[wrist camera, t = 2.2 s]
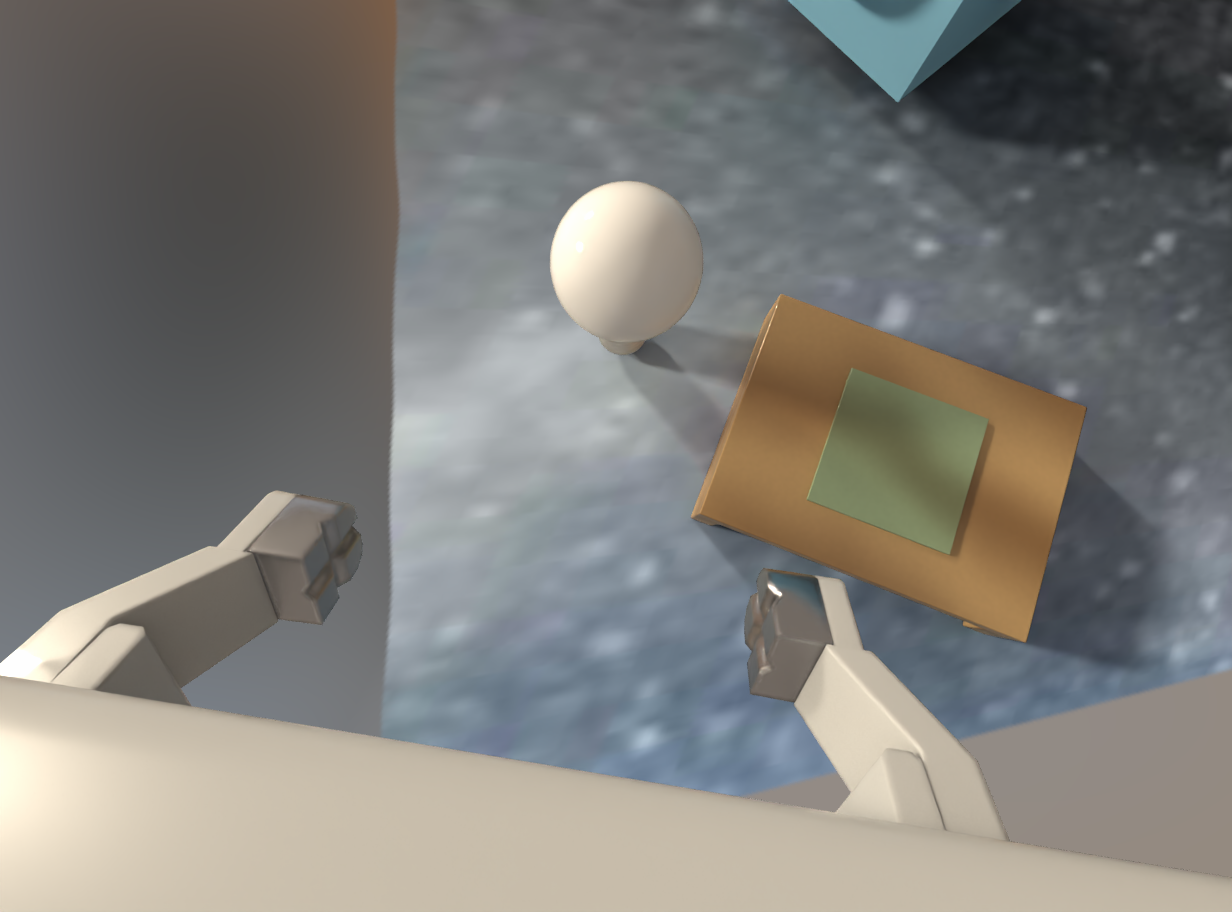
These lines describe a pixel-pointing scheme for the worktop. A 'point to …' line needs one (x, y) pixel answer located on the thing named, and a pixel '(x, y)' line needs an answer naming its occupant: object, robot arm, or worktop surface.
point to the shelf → (895, 466)
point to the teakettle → (902, 34)
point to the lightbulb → (626, 263)
